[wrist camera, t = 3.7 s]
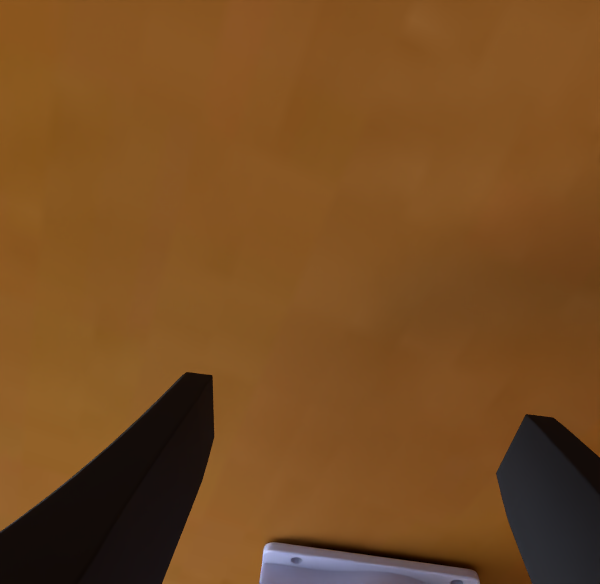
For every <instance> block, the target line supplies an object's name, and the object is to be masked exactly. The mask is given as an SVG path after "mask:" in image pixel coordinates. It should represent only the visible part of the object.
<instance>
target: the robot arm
mask: <svg viewBox="0 0 600 584" xmlns="http://www.w3.org/2000/svg"><path fill="white" fill-rule="evenodd" d="M213 439H214V414H213V380H212V375H205V374H197V373H189V372H186V373H185V374H184V375H182V376H181V377H180V378H179V379H178V380H177V381H176V382H175V383H174V384H173V385H172V386H171V387H170V388H169V389H168V390H167V391H166V392H165V393H164V394H163V395H162V396H161V397H160V398H159V399H158V400H157V401H156V402H155V403H154V404H153V405H152V406H151V407H150V408H149V409H148V410H147V411H146V412H145V413H144V414H143V415H142V416H141V417H140V418H139V419H138V420H136V421H135V422H134V423H133V424H132V425H131V426H130V427H129V428H128V429H127V430H126V431H125V432H123V433H122V434H121V435H120V436H119V437H118V438H117V439H116V440H115V441H114V442H113V443H111V444H110V445H109V446H108V447H107V448H106V449H105V450H103V451H102V452H101V453H100V454H99V455H98V456H96V457H95V458H94V459H93V460H92V461H90V462H89V463H88V464H87V465H86V466H85V467H83V468H82V469H81V470H80V471H79V472H77V473H76V474H75V475H74V476H73V477H72V478H70V479H69V480H68V481H67V482H65V483H64V484H63V485H62V486H60V487H59V488H58V489H57V490H55V491H54V492H53V493H52V494H50V495H49V496H48V497H46V498H45V499H44V500H42V501H41V502H40V503H39V504H37V505H36V506H35V507H33V508H32V509H31V510H29V511H28V512H27V513H25V514H24V515H23V516H21V517H20V518H19V519H17V520H16V521H14V522H13V523H12V524H10V525H9V526H8V527H6V528H5V529H3V530H2V531H0V584H162V582H163V579H164V577H165V574H166V572H167V569H168V567H169V564H170V561H171V559H172V556H173V554H174V551H175V549H176V546H177V544H178V541H179V539H180V536H181V534H182V531H183V528H184V526H185V523H186V521H187V518H188V516H189V513H190V511H191V508H192V505H193V503H194V500H195V498H196V495H197V493H198V490H199V487H200V485H201V482H202V479H203V476H204V472H205V469H206V465H207V462H208V458H209V454H210V451H211V447H212V443H213ZM496 475H497V479H498V483H499V487H500V491H501V496H502V500H503V503H504V507H505V511H506V514H507V518H508V521H509V524H510V527H511V530H512V532H513V535H514V538H515V540H516V543H517V545H518V548H519V551H520V553H521V556H522V559H523V561H524V564H525V566H526V569H527V571H528V574H529V577H530V579H531V582H532V584H600V458H599V457H598V456H597V455H596V454H595V453H594V452H593V451H592V450H590V449H589V448H588V447H587V446H586V445H585V444H584V443H583V442H581V441H580V440H579V439H578V438H577V437H576V436H575V435H573V434H572V433H571V432H570V431H569V430H568V429H567V428H565V427H564V426H563V425H562V424H561V423H559V422H558V421H557V420H556V419H554V418H552V417H544V416H536V415H528V414H526V415H525V417H524V419H523V421H522V423H521V425H520V427H519V429H518V431H517V433H516V435H515V437H514V439H513V441H512V443H511V445H510V447H509V449H508V451H507V453H506V455H505V457H504V459H503V461H502V463H501V465H500V467H499V469H498V471H497V473H496ZM259 584H480V581H479V577H478V574H477V572H475V571H474V570H471V569H466V568H459V567H452V566H444V565H437V564H430V563H423V562H416V561H408V560H401V559H394V558H387V557H379V556H372V555H365V554H358V553H350V552H343V551H336V550H329V549H321V548H314V547H307V546H300V545H292V544H285V543H278V542H271V543H268V544H266V545H265V547H264V552H263V562H262V569H261V575H260V582H259Z"/></svg>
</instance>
